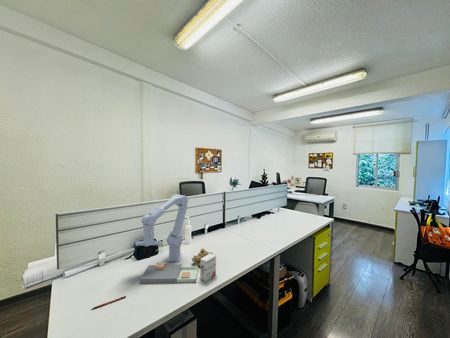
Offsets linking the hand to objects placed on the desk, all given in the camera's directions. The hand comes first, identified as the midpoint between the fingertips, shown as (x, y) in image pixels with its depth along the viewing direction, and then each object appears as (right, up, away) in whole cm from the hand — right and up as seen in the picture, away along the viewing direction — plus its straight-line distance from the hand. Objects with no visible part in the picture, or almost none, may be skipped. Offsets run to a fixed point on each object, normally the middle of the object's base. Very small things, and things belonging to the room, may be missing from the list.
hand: (148, 257), depth 106 cm
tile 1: (+7, -6, +1) cm, 9 cm away
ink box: (+36, -10, -2) cm, 38 cm away
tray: (+24, -10, -2) cm, 26 cm away
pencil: (-9, -11, -23) cm, 27 cm away
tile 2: (+23, -9, -5) cm, 25 cm away
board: (+9, -10, -2) cm, 13 cm away
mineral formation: (+32, -10, +11) cm, 36 cm away
